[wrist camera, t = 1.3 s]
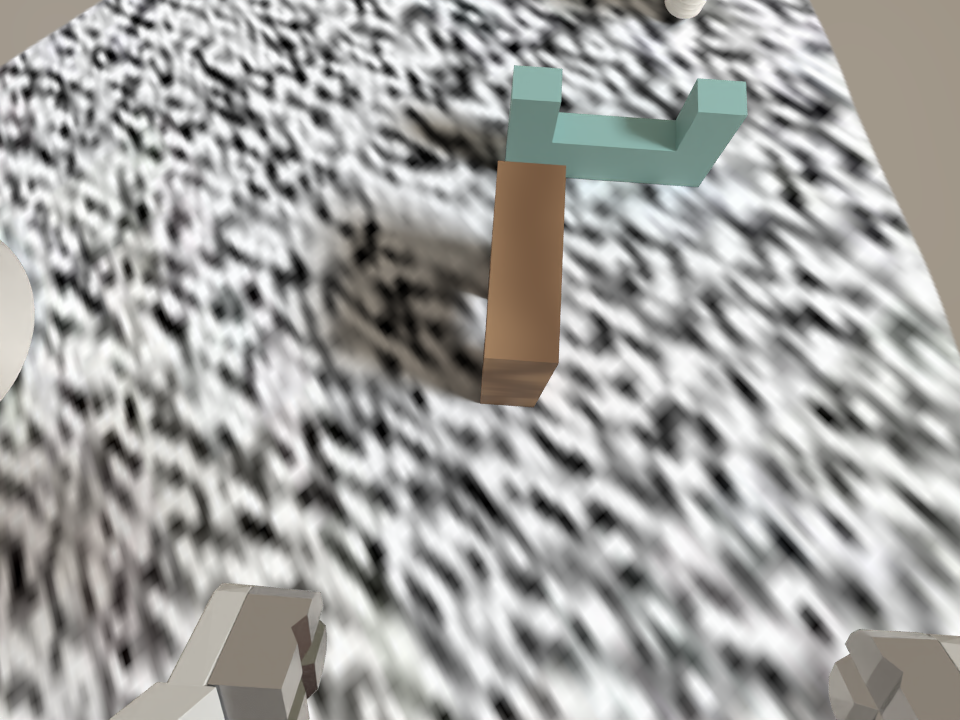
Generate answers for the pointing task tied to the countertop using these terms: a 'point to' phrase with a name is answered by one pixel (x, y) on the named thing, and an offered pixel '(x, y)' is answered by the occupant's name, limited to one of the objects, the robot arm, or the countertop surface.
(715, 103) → the teal bracket
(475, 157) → the countertop surface
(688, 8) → the lightbulb
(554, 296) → the brown arch block
